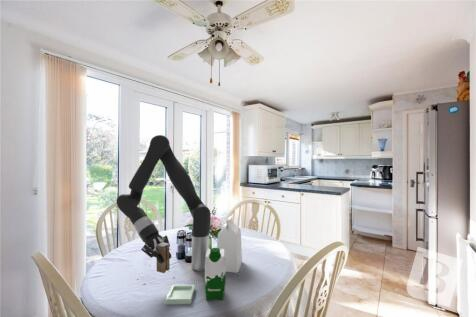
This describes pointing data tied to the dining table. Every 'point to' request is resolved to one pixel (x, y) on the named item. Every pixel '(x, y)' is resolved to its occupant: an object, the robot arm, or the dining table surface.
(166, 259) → the brown wooden slotted block
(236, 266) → the milk
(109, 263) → the dining table surface
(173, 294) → the rest
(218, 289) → the milk carton
